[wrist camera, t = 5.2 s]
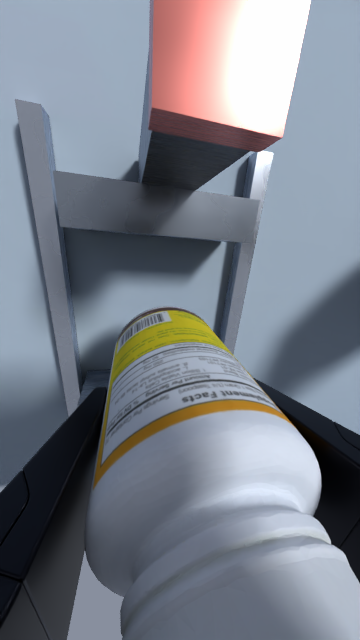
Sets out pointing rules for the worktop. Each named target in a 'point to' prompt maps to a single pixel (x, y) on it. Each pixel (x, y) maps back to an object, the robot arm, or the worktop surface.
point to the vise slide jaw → (197, 120)
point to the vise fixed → (55, 259)
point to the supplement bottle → (208, 499)
